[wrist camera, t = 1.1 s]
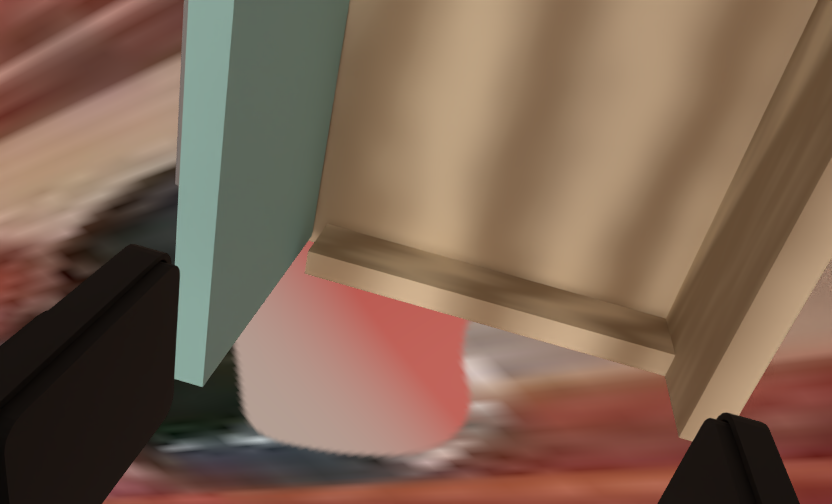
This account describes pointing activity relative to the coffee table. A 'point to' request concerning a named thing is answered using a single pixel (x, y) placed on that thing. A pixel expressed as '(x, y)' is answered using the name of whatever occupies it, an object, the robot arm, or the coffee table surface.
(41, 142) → the coffee table surface
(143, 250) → the robot arm
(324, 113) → the panel
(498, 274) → the trailer bed
